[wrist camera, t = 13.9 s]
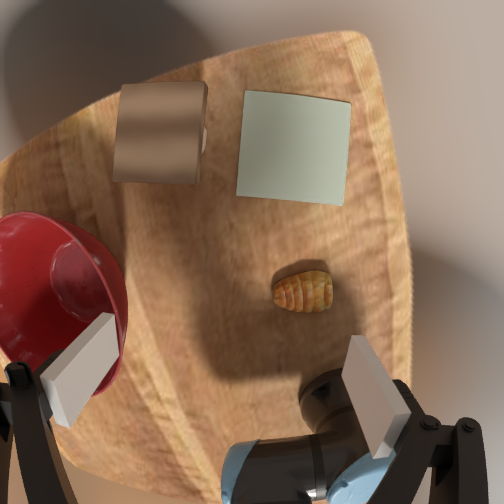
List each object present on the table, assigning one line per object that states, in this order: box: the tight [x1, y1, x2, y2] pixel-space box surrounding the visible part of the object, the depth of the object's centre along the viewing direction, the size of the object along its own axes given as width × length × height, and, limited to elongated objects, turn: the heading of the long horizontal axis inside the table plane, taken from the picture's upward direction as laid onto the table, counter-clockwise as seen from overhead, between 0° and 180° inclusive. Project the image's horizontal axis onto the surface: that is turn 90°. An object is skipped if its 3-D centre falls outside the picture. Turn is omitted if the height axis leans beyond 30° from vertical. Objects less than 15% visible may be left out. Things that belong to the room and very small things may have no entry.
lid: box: [112, 81, 208, 185], centre depth 36 cm, size 13×11×3 cm
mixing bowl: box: [0, 211, 128, 397], centre depth 42 cm, size 28×28×16 cm
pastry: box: [273, 270, 333, 313], centre depth 47 cm, size 9×7×4 cm
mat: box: [236, 90, 351, 206], centre depth 43 cm, size 16×16×1 cm
